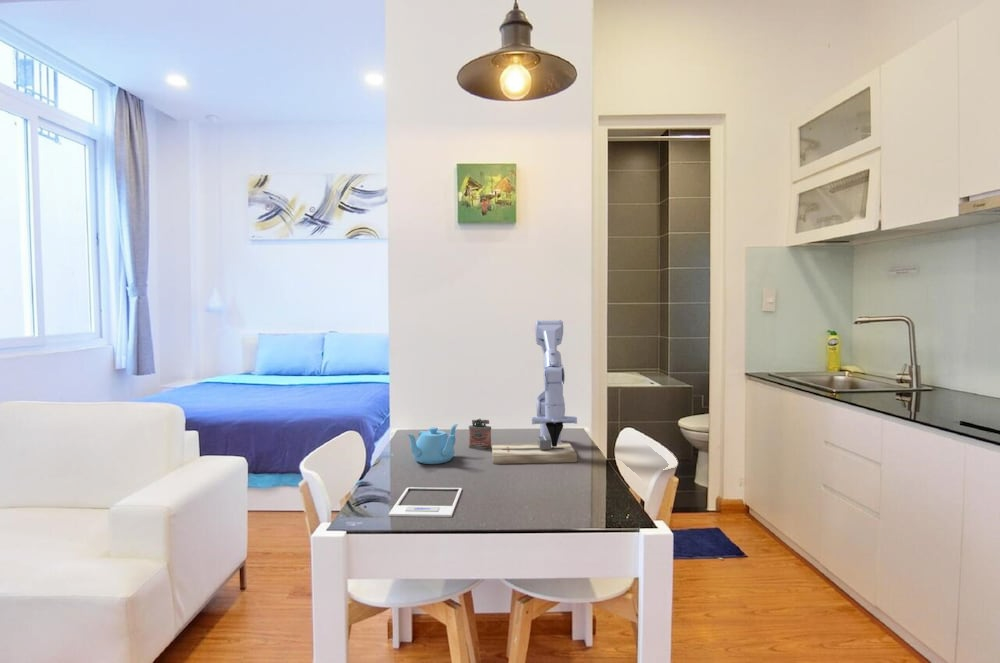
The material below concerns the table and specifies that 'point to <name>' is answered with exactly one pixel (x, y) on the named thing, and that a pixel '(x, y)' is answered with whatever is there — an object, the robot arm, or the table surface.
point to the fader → (544, 442)
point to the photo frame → (424, 510)
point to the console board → (532, 453)
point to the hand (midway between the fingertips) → (554, 445)
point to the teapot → (433, 446)
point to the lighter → (480, 435)
